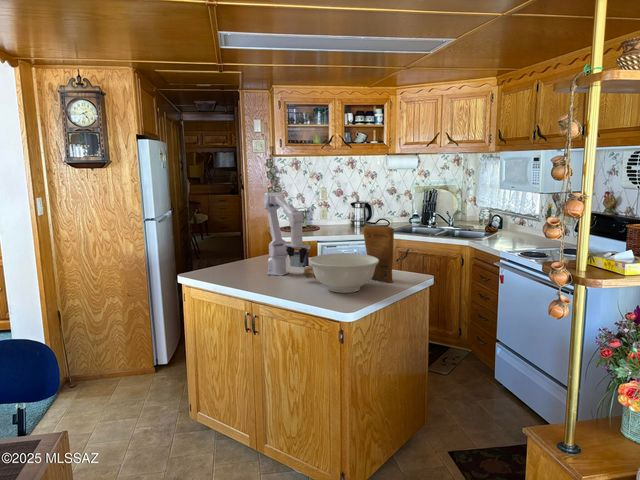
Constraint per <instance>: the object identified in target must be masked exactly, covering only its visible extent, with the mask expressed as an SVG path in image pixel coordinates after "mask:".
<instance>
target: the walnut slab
mask: <svg viewBox="0 0 640 480" xmlns="http://www.w3.org/2000/svg"><path fill="white" fill-rule="evenodd" d="M302 274H303V275H302V276H306V277H305V278H311V277H314V278H316V277H315V274H311V273H304V272H303V273H302Z"/></svg>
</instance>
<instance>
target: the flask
mask: <svg viewBox="0 0 640 480" xmlns="http://www.w3.org/2000/svg"><path fill="white" fill-rule="evenodd" d="M294 255H300V252H299V250H294ZM309 256H310V255H309V250H308V251H307V253H306V255H305V258H304V265H303V266H310V262H309V260H310V257H309Z"/></svg>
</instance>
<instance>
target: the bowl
mask: <svg viewBox="0 0 640 480" xmlns="http://www.w3.org/2000/svg"><path fill="white" fill-rule="evenodd" d="M378 262H379V260H378V259H377V258H375V257H373V256H369V255H367V254H362V253H347V252H346V253H345V252H344V253H341V252H338V253H327V254H321V255H316V256H315V255H314V256H312V257H310V258H309V264H310V265H311V266H313V271H314V274H315V277H314V278H316V279H317V280H318V282H320V283H321V284H322V285H325V286H327V290H328V291H330V292H333V293H341V294H347V293H350V294H351V293H356V291H357V292H358V291H360V290H361V287H362V286H364V285H366V284H367V283H369V282H370V281H371V280H372V279H371V278H372V277H373V275H374V271H375V267H376V265H377V264H378Z"/></svg>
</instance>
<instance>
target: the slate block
mask: <svg viewBox="0 0 640 480" xmlns="http://www.w3.org/2000/svg"><path fill="white" fill-rule="evenodd" d="M289 260H290V261H289V263H290V265H289V266H290V267H293V268H295V267H296V268H299V267H300V268H301V266H303V265H304V262H303V263H300V255H293V256H290V257H289Z"/></svg>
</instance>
